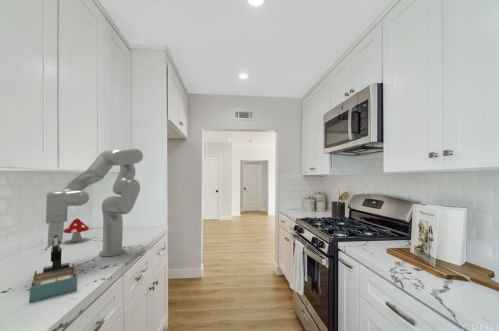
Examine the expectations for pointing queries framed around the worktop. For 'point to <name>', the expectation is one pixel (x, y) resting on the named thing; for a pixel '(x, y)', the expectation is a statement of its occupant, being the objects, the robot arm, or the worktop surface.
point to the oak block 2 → (63, 277)
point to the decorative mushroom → (76, 229)
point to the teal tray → (53, 289)
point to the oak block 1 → (47, 281)
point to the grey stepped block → (56, 265)
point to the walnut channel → (53, 275)
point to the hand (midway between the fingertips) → (55, 258)
